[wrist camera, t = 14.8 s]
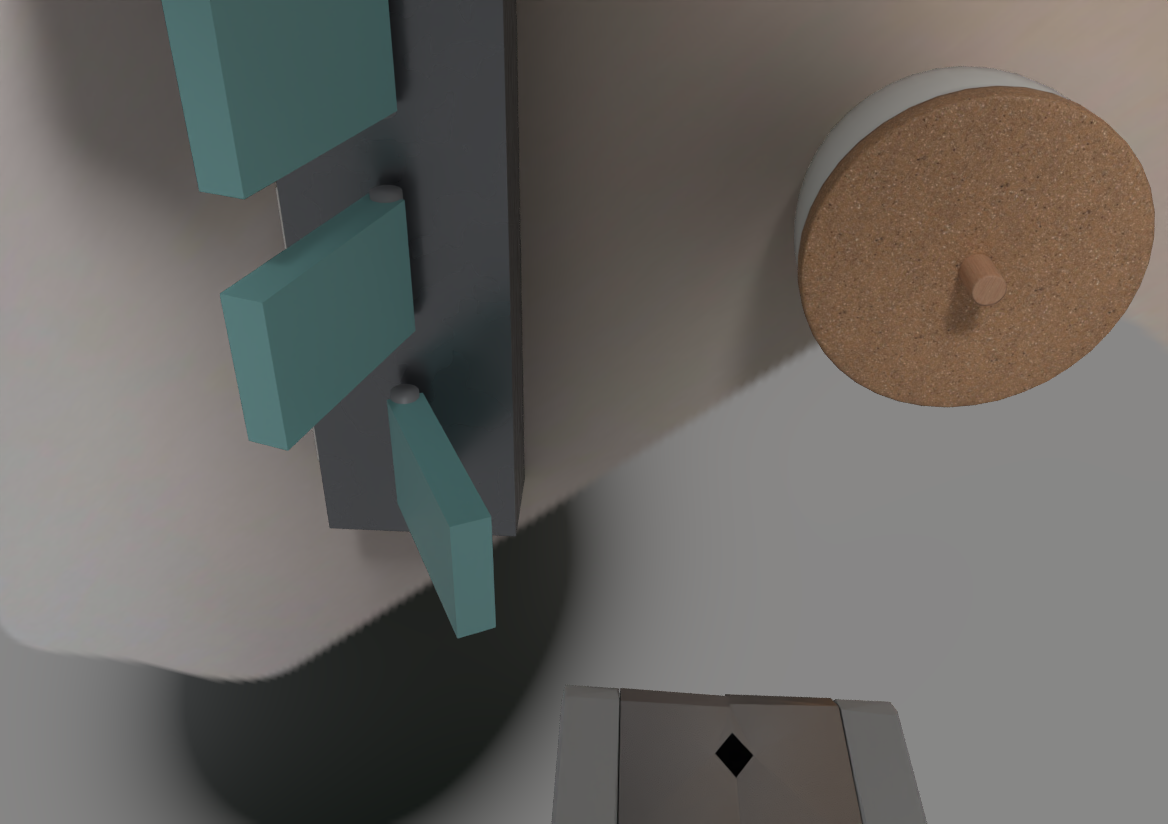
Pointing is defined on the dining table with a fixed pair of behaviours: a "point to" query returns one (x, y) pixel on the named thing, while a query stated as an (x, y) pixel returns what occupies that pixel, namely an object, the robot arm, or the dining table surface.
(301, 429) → the block
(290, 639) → the dining table surface
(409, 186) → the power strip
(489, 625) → the teal flat block
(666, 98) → the dining table surface
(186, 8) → the rocker
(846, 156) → the lidded jar
